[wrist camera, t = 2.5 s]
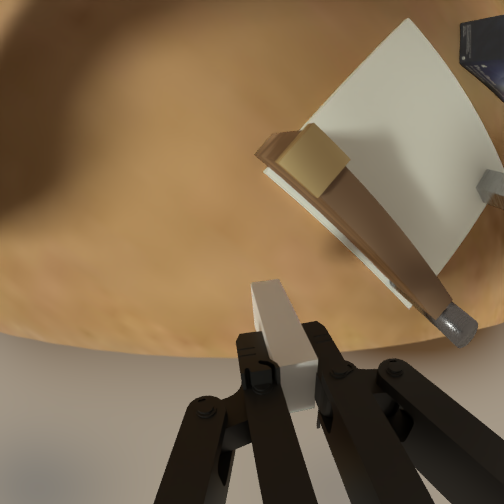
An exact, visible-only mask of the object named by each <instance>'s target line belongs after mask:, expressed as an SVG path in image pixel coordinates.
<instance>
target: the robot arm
mask: <svg viewBox="0 0 504 504" xmlns="http://www.w3.org/2000/svg"><path fill="white" fill-rule="evenodd" d="M251 292H252V302H253V312H254V323H255V329H256V332H251V333H243V334H239V336H238V338H237V340H236V346H237V353H238V360H239V366H240V373H241V380H242V384H241V387H240V389H239V390H238V391H237V392H236V393H235V394H234V395H232V396H230V397H228V398H225V399H222V400H220V399H219V398H217V397H214V396H202V397H199V398H196V399H195V400H193V401H192V402H191V403H190V404H189V406H188V407H187V410H186V412H185V415H184V418H183V421H182V424H181V427H180V429H179V432H178V435H177V438H176V441H175V444H174V447H173V449H172V452H171V455H170V458H169V461H168V464H167V466H166V469H165V472H164V475H163V478H162V481H161V484H160V487H159V489H158V492H157V495H156V498H155V501H154V504H225V503H226V498H227V492H228V487H229V482H230V476H231V471H232V466H233V461H234V456H235V449H237V448H240V447H242V446H244V445H247V444H249V443H251V442H252V446H253V452H254V457H255V463H256V468H257V474H258V479H259V485H260V489H261V495H262V500H263V504H318V503H317V500H316V496H315V493H314V490H313V487H312V484H311V480H310V477H309V474H308V471H307V468H306V464H305V461H304V458H303V455H302V452H301V449H300V445H299V442H298V439H297V436H296V433H295V429H294V426H293V423H292V419H291V416H290V413H293V412H298V411H303V410H307V409H312V408H314V407H315V401H316V403H317V406H318V417H317V428H320V424H321V426H322V429H323V431H324V434H325V436H326V439H327V442H328V444H329V447H330V450H331V452H332V455H333V457H334V460H335V463H336V465H337V468H338V470H339V473H340V476H341V478H342V481H343V484H344V486H345V489H346V491H347V494H348V497H349V499H350V502H351V504H435V503H434V501H433V500H432V498H431V496H430V494H429V492H428V490H427V489H426V487H425V485H424V483H423V481H422V479H421V478H420V476H419V474H418V473H417V470H418V471H419V472H420V473H421V474H422V475H423V476H424V477H425V478H426V479H427V480H428V481H429V482H430V483H431V484H432V485H433V486H434V487H435V488H436V489H437V490H438V491H439V492H440V493H441V494H442V495H443V496H444V497H445V498H446V499H447V500H448V501H449V502H450V503H451V504H504V440H503V439H502V438H501V437H499V436H498V435H497V434H496V433H494V432H493V431H492V430H491V429H489V428H488V427H487V426H486V425H485V424H483V423H482V422H481V421H479V420H478V419H477V418H476V417H475V416H473V415H472V414H471V413H470V412H468V411H467V410H466V409H465V408H463V407H462V406H461V405H459V404H458V403H457V402H456V401H454V400H453V399H452V398H451V397H449V396H448V395H447V394H446V393H445V392H443V391H442V390H441V389H439V388H438V387H437V386H436V385H434V384H433V383H432V382H431V381H429V380H428V379H427V378H426V377H424V376H423V375H422V374H421V373H419V372H418V371H417V370H416V369H414V368H413V367H412V366H410V365H409V364H408V363H407V362H405V361H403V360H400V359H396V358H395V359H387V360H385V361H383V362H382V363H380V365H379V367H378V369H367V370H366V369H358V368H356V366H354V364H352V363H350V362H349V361H345V360H344V359H343V357H342V355H341V353H340V351H339V350H338V348H337V346H336V345H335V343H334V341H333V340H332V338H331V336H330V335H329V333H328V331H327V330H326V328H325V326H323V325H322V324H320V323H319V322H317V321H314V322H308V323H303V324H301V323H300V321H299V319H298V317H297V315H296V313H295V311H294V309H293V307H292V304H291V302H290V300H289V298H288V296H287V294H286V292H285V290H284V288H283V286H282V284H281V282H280V280H279V279H275V280H268V281H260V282H253V283H251ZM415 468H416V469H417V470H416V469H415Z"/></svg>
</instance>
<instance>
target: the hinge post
mask: <svg viewBox="0 0 504 504" xmlns="http://www.w3.org/2000/svg"><path fill="white" fill-rule="evenodd" d="M389 283H390V285H391V286H392V287H393V288H394V289H395V290H396V291H397V292H398V293H400V294H401V295H402V296H403V297H404V298H405V299H406V300H407V301H408V302H410V303H411V304H412V305H413V306H414V307H415V308H416V309H417V310H418V311H420V312H421V313H422V314H423V315H424V316H425V317H426V318H427V319H428V320H429V321H430V322H431V323H432V324H434V325H435V326H436V327H437V328H438V329H439V330H440V331H441V332H442V333H443V334H444V335H445V336H446V337H447V338H448V339H449V340H450V341H451V342H453V344H455V345H456V346H457V347H458V348H462V347H464V346H466V345H467V344H468V343H469V342H470V341H471V340H472V339H473V337H474V335H475V334H476V331H477V328H478V323H477V321H475V320H474V319H473V318H472V317H471V316H469V315H468V314H467V313H466V312H464V311H463V310H462V309H461V308H459V307H458V306H457V305H456V304H454V303H453V302H452V301H451V303H450V304H449V305H448V306H447V308H446V309H445V310H444V311H443V312H442V314H441V315H440V316H439V317H438V318H437V320H435V319H433V318H432V317H431V316H430V315H429V314H428V313H427V312H426V311H425V310H423V309H422V308H421V307H420V306H419V305H418V304H417V303H416V302H414V301H413V300H412V299H411V298H410V297H409V296H408V295H406V294H405V293H404V292H403V291H402V290H401V289H399V288H398V287H397V286H396V285H395V284H394V283H392V282H391V281H390V280H389Z"/></svg>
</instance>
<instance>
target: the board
mask: <svg viewBox="0 0 504 504" xmlns="http://www.w3.org/2000/svg"><path fill="white" fill-rule="evenodd" d="M309 123H315V124H316V125H317V126H318V127H319V128H320V129H321V130H322V131H323V132H324V133H325V134H326V135H327V136H328V137H329V138H330V139H331V140H332V141H333V142H334V143H335V144H336V145H337V146H338V147H339V148H340V149H341V150H342V151H343V152H344V153H345V154H346V155H347V156H348V157H349V158H350V159H351V160H350V161H349V162H348V163H347V165H346V167H347V168H348V169H349V170H350V171H351V172H352V173H353V174H354V176H355V177H356V178H357V179H358V180H359V181H360V182H361V183H362V184H363V185H364V186H365V188H366V189H367V190H368V191H369V192H370V193H371V194H372V195H373V196H374V198H375V199H376V200H377V201H378V202H379V203H380V204H381V206H382V207H383V208H384V209H385V210H386V211H387V213H388V214H389V215H390V216H391V217H392V219H393V220H394V221H395V222H396V224H397V225H398V226H399V227H400V228H401V230H402V231H403V232H404V233H405V235H406V236H407V237H408V238H409V240H410V241H411V242H412V244H413V245H414V246H415V247H416V249H417V250H418V251H419V253H420V254H421V255H422V257H423V258H424V259H425V261H426V262H427V264H428V265H429V266H430V268H431V269H432V270H433V272H434V273H435V275H436V276H437V275H438V274H439V273H440V271H441V270H442V269H443V267H444V266H445V265H446V263H447V262H448V261H449V259H450V258H451V257H452V255H453V254H454V253H455V251H456V250H457V248H458V247H459V246H460V244H461V243H462V241H463V240H464V238H465V237H466V236H467V234H468V233H469V231H470V230H471V228H472V227H473V225H474V224H475V222H476V220H477V219H478V217H479V216H480V214H481V213H482V211H483V209H484V208H485V206H486V205H487V204H486V203H483V202H482V199H481V197H480V195H479V193H478V191H477V189H476V186H477V185H478V183H479V181H480V180H481V178H482V176H483V175H484V173H485V171H486V170H487V169H489V170H493V171H498V172H501V173H504V168H503V165H502V163H501V161H500V158H499V156H498V154H497V152H496V149H495V147H494V145H493V143H492V141H491V139H490V137H489V135H488V133H487V131H486V129H485V127H484V125H483V123H482V121H481V119H480V118H479V116H478V114H477V112H476V110H475V109H474V107H473V105H472V103H471V102H470V100H469V98H468V97H467V95H466V93H465V92H464V90H463V89H462V87H461V85H460V84H459V82H458V81H457V79H456V78H455V76H454V75H453V73H452V72H451V70H450V69H449V68H448V66H447V65H446V63H445V62H444V61H443V59H442V58H441V56H440V55H439V54H438V52H437V51H436V50H435V49H434V47H433V46H432V45H431V43H430V42H429V41H428V40H427V38H426V37H425V36H424V35H423V34H422V32H421V31H420V30H419V29H418V28H417V26H416V25H415V24H414V23H413V22H412V21H411V20H410V19H409V18H407V19H405V20H404V21H403V22H402V23H401V24H400V25H399V26H398V27H397V28H396V29H395V30H393V31H392V32H391V33H390V34H389V35H388V36H387V37H386V38H385V39H384V40H383V41H382V42H381V43H380V44H379V45H378V47H377V48H376V49H375V50H374V51H373V52H372V53H371V54H370V55H369V56H368V57H367V58H366V59H365V60H364V61H363V62H362V63H361V64H360V65H359V66H358V67H357V68H356V69H355V70H354V71H353V72H352V73H351V74H350V75H349V77H348V78H347V79H346V80H345V81H344V82H343V83H342V84H341V85H340V86H339V87H338V88H337V89H336V90H335V91H334V93H333V94H332V95H331V96H330V97H329V98H328V99H327V100H326V101H325V102H324V103H323V104H322V106H321V107H320V108H319V109H318V110H317V111H316V112H315V113H314V114H313V115H312V117H311V118H310V119H309V120H308V121H307V122H306V123H305V124H304V125H303V127H302V128H301V129H300V130H303V129H304V128H305V127H306V125H307V124H309ZM300 130H299V131H300ZM263 172H264V173H265V174H266V175H267V176H268V177H269V178H271V179H272V180H273V181H274V182H275V183H277V184H278V185H279V186H280V187H281V188H282V189H284V190H285V191H286V192H287V193H288V194H289V195H290V196H292V197H293V198H294V199H295V200H296V201H297V202H298V203H299V204H301V205H302V206H303V207H304V208H305V209H306V210H307V211H308V212H310V213H311V214H312V215H313V216H314V217H315V218H316V219H317V220H318V221H319V222H321V223H322V224H323V225H324V226H325V227H326V228H327V229H328V230H329V231H330V232H331V233H332V234H334V235H335V236H336V237H337V238H338V239H339V240H340V241H341V242H342V243H343V244H344V245H345V246H346V247H347V248H348V249H349V250H350V251H352V252H353V253H354V254H355V255H356V256H357V257H358V258H359V259H360V260H361V261H362V262H363V263H364V264H365V265H366V266H367V267H368V268H369V269H370V270H371V271H372V272H373V273H374V274H375V275H376V276H377V277H378V278H379V279H380V280H381V281H382V282H383V283H384V284H385V285H386V286H387V287H388V288H389V289H390V290H391V291H392V292H393V293H394V294H395V295H396V296H397V297H398V298H399V299H400V301H401V302H402V303H403V304H404V305H405V306H406V307H407V308H408V309H410V308H411V306H412V304H411V303H410V302H408V301H407V300H406V299H405V298H404V297H403V296H402V295H401V294H400V293H398V292H397V291H396V290H395V289H394V288H393V287H392V286H391V285H390V283H389V279H388V278H387V277H385V276H384V275H383V274H382V273H381V272H380V271H379V270H378V269H377V268H376V267H375V266H374V265H373V263H372V262H371V261H370V260H369V259H368V258H367V257H366V256H365V255H364V254H363V253H362V252H361V251H360V250H359V249H358V248H357V247H356V246H355V245H353V244H352V243H351V242H350V241H349V240H348V239H347V238H346V237H345V236H344V235H343V234H342V233H341V232H340V231H339V230H338V229H337V228H336V227H335V226H334V225H333V224H332V223H331V222H330V221H328V220H327V219H326V218H325V217H324V216H323V215H322V214H321V213H320V212H319V211H318V210H317V209H316V208H314V207H313V206H312V205H311V204H310V203H309V202H308V201H307V200H306V199H305V198H303V197H302V196H301V195H300V194H299V193H298V192H297V191H296V190H295V189H293V188H292V187H291V186H290V185H289V184H288V183H287V182H285V181H284V180H283V179H282V178H281V177H280V176H279V175H277V174H276V173H275V172H274V171H273V170H272V169H270V168H269V167H267V168H266V169H265V170H264V171H263Z"/></svg>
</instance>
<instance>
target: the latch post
mask: <svg viewBox="0 0 504 504" xmlns="http://www.w3.org/2000/svg"><path fill="white" fill-rule="evenodd" d="M476 189H477V191H478V193H479V195H480V197H481V199H482V202H483V203H486V204H489V205H492V206H495V207H497V208H500V209H503V210H504V173H501V172H498V171H493V170H489V169H487V170H486V171H485V173H484V175H483V176H482V178H481V180H480V181H479V183H478V185H477V186H476Z"/></svg>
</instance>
